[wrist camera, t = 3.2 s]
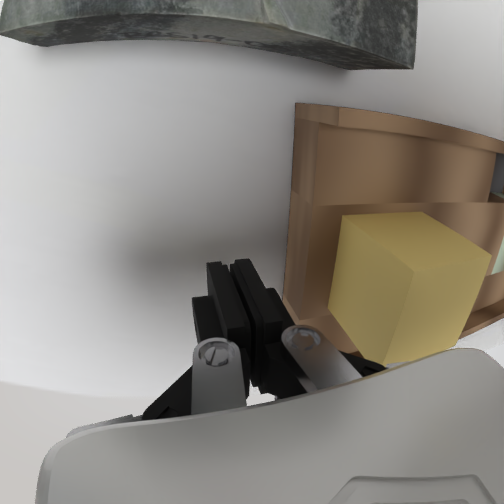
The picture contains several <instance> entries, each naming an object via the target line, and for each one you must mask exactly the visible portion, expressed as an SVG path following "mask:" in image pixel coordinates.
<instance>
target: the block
mask: <svg viewBox="0 0 504 504" xmlns="http://www.w3.org/2000/svg"><path fill="white" fill-rule="evenodd" d="M491 257H492V255H491V254H489V253H488V252H486V251H485V250H483V249H482V248H480V247H479V246H477V245H476V244H474V243H473V242H471V241H469V240H468V239H466V238H465V237H463V236H462V235H460V234H458V233H457V232H455V231H453V230H452V229H450V228H449V227H447V226H445V225H444V224H442V223H440V222H439V221H437V220H435V219H433V218H432V217H430V216H428V215H427V214H425V213H423V212H402V213H380V214H360V215H342V221H341V228H340V235H339V242H338V249H337V255H336V262H335V268H334V274H333V280H332V286H331V291H330V297H329V302H328V309H329V311H330V312H331V313H332V315H333V316H334V317H335V319H336V320H337V321H338V323H339V324H340V325H341V327H342V328H343V330H344V331H345V332H346V334H347V335H348V336H349V338H350V339H351V340H352V342H353V343H354V345H355V346H356V347H357V349H358V350H359V351H360V353H361V354H362V356H363V357H364V358H365V359H367V360H370V361H373V362H377V363H379V364H381V365H383V366H384V367H386V365H387V364H390V363H398V362H406V361H413V360H416V359H418V358H421V357H424V356H428V355H431V354H433V353H437V352H441V351H444V350H446V349H449V348H451V347H453V346H455V345H456V343H457V341H458V339H459V336H460V334H461V332H462V330H463V328H464V326H465V324H466V321H467V319H468V317H469V315H470V312H471V310H472V308H473V305H474V303H475V300H476V298H477V295H478V293H479V290H480V288H481V285H482V282H483V280H484V277H485V274H486V271H487V269H488V266H489V263H490V260H491Z"/></svg>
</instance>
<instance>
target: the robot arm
mask: <svg viewBox="0 0 504 504" xmlns="http://www.w3.org/2000/svg"><path fill="white" fill-rule="evenodd" d="M207 284H208V296H202V297H193V298H192V307H193V317H194V324H195V331H196V336H197V342H198V345H197V346H196V347H195V349H194V352H193V365H192V366H191V367H190V368H189V369H188V370H187V371H186V372H185V373H184V374H183V375H182V376H181V377H180V378H179V379H178V380H177V381H176V382H175V383H173V384H172V385H171V386H170V387H169V388H168V389H167V390H166V391H165V392H164V393H163V394H162V395H161V396H160V397H159V398H157V399H156V400H155V401H154V402H153V403H152V404H151V405H150V406H149V407H148V408H147V409H146V410H145V412H144V413H143V415H140V416H137V417H133V415H132V414H131V415H128V416H124V417H120V418H116V419H112V420H108V421H104V422H99V423H95V424H90V425H86V426H82V427H78V428H75V429H73V430H72V431H70V432H69V433H68V435H67V437H66V438H65V439H63V440H61V441H60V442H58V443H56V444H55V445H54V446H53V447H52V448H51V449H50V450H49V451H48V453H47V455H46V456H45V458H44V460H43V463H42V465H41V469H40V473H39V477H38V483H37V490H36V499H35V504H504V368H503V367H502V366H501V365H500V364H499V363H498V362H497V361H496V360H494V359H493V358H492V357H491V356H489V355H488V354H486V353H485V352H484V351H481V350H479V349H473V348H456V349H449V350H445V351H441V352H437V353H433V354H431V355H428V356H424V357H421V358H418V359H416V360H413V361H406V362H398V363H390V364H387V365H386V367H384V366H383V365H381V364H379V363H377V362H373V361H370V360H367V359H364V358H361V357H358V356H355V355H351V354H348V353H345V352H342V351H339V350H337V349H336V348H335V346H334V345H333V344H332V343H331V342H330V341H329V340H328V339H327V338H326V337H325V335H324V334H323V333H322V332H321V331H319V330H318V329H317V328H314V327H312V326H309V325H296V324H295V323H294V321H293V319H292V318H291V316H290V314H289V312H288V311H287V309H286V307H285V305H284V304H283V302H282V300H281V299H280V297H279V295H278V293H277V292H276V290H275V289H274V288H265V286H264V284H263V283H262V281H261V279H260V277H259V275H258V273H257V271H256V270H255V268H254V266H253V264H252V262H251V260H250V259H239V260H235V264H230V272H229V269H228V267H227V265H222V263H221V261H220V262H210V263H207ZM250 380H251V383H252V385H253V387H257V386H258V388H259V391H260V393H261V394H265V393H270V394H272V395H274V396H275V401H271V402H266V403H262V404H256V405H251V406H247V404H246V399H247V398H248V396H249V387H250Z"/></svg>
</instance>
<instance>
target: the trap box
mask: <svg viewBox="0 0 504 504" xmlns="http://www.w3.org/2000/svg"><path fill="white" fill-rule="evenodd" d="M402 212H423V213H425V214H427V215H428V216H430V217H432V218H433V219H435V220H437V221H439V222H440V223H442V224H444V225H445V226H447V227H449V228H450V229H452V230H453V231H455V232H457V233H458V234H460V235H462V236H463V237H465V238H466V239H468V240H469V241H471V242H473V243H474V244H476V245H477V246H479V247H480V248H482V249H483V250H485V251H486V252H488V253H489V254H491V255H492V257H491V260H490V263H489V266H488V269H487V271H486V274H485V277H484V280H483V282H482V285H481V288H480V290H479V293H478V295H477V298H476V300H475V303H474V305H473V308H472V310H471V312H470V315H469V317H468V319H467V321H466V324H465V326H464V328H463V330H462V332H461V334H460V336H459V339H461V338H463V337H465V336H468V335H470V334H472V333H474V332H476V331H478V330H480V329H482V328H484V327H486V326H488V325H490V324H492V323H494V322H496V321H498V320H500V319H502V318H504V142H503V141H500V140H497V139H494V138H491V137H487V136H484V135H481V134H477V133H474V132H470V131H466V130H462V129H459V128H455V127H451V126H447V125H442V124H438V123H434V122H429V121H425V120H420V119H415V118H410V117H405V116H399V115H394V114H388V113H382V112H375V111H368V110H361V109H354V108H346V107H337V106H328V105H317V104H305V103H296V105H295V127H294V147H293V166H292V183H291V198H290V213H289V227H288V241H287V254H286V266H285V278H284V289H283V300H282V302H283V304H284V305H285V307H286V309H287V311H288V312H289V314H290V316H291V318H292V319H293V321H294V323H295V324H296V325H309V326H312V327H314V328H317V329H318V330H319V331H321V332H322V333H323V334H324V335H325V337H326V338H327V339H328V340H329V341H330V342H331V343H332V344H333V345H334V346H335V348H336V349H337V350H339V351H342V352H345V353H348V354H351V355H355V356H358V357H361V358H364V357H363V356H362V354H361V353H360V351H359V350H358V349H357V347H356V346H355V345H354V343H353V342H352V340H351V339H350V338H349V336H348V335H347V334H346V332H345V331H344V330H343V328H342V327H341V325H340V324H339V323H338V321H337V320H336V319H335V317H334V316H333V315H332V313H331V312H330V311H329V309H328V302H329V297H330V291H331V286H332V280H333V274H334V268H335V262H336V255H337V249H338V242H339V235H340V228H341V221H342V215H360V214H380V213H402ZM459 339H458V340H459ZM364 359H365V358H364Z"/></svg>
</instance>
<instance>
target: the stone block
mask: <svg viewBox="0 0 504 504" xmlns="http://www.w3.org/2000/svg"><path fill="white" fill-rule="evenodd" d="M417 15H418V0H4V3H3V7H2V12H1V16H0V35H2V36H5V37H9V38H12V39H15V40H18V41H21V42H25V43H29V44H32V45H38V46H45V47H48V46H54V45H60V44H72V43H81V42H93V41H109V40H185V41H204V42H216V43H223V44H229V45H237V46H245V47H249V48H255V49H261V50H266V51H272V52H277V53H282V54H287V55H293V56H300V57H304V58H308V59H312V60H317V61H320V62H324V63H327V64H330V65H333V66H336V67H340V68H344V69H348V70H363V69H413V68H414V61H415V49H416V31H417Z"/></svg>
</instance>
